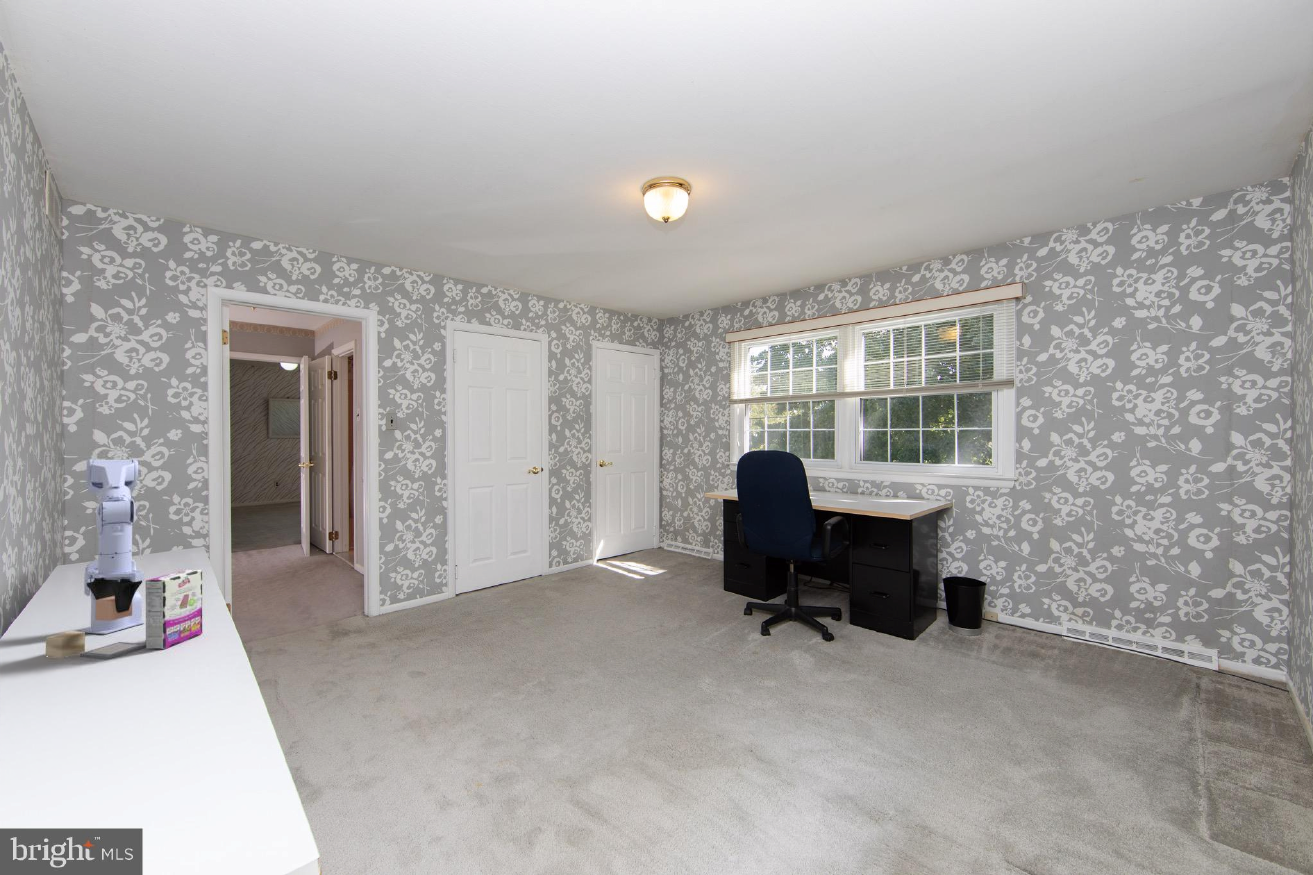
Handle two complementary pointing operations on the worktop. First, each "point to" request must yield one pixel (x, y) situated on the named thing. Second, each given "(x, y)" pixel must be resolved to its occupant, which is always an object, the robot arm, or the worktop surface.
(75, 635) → the maple cube
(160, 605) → the candy bar box
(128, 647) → the build plate
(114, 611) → the terracotta cube
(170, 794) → the worktop surface
